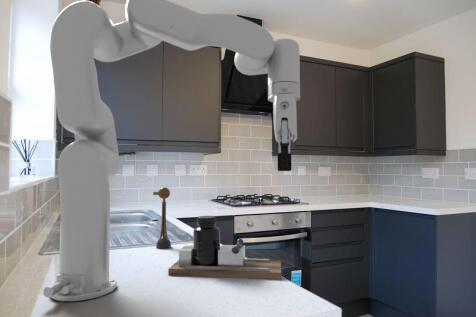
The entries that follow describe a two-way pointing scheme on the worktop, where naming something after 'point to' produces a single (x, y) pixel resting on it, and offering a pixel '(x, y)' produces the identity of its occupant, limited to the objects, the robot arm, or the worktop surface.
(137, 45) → the robot arm
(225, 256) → the block
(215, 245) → the supplement bottle
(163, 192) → the wooden tabletop sculpture
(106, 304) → the worktop surface
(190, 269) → the vise base
